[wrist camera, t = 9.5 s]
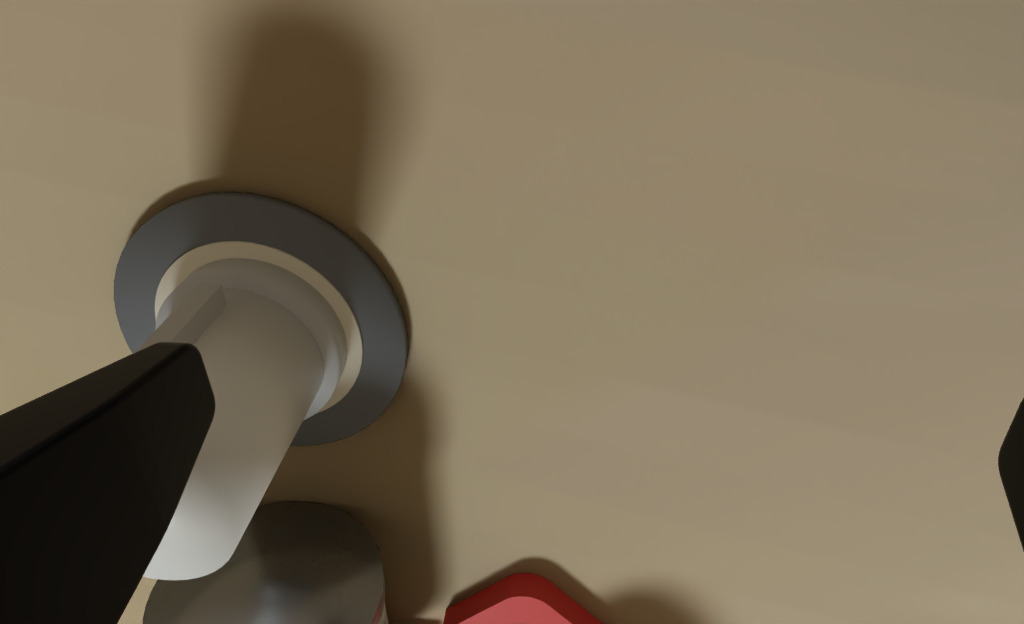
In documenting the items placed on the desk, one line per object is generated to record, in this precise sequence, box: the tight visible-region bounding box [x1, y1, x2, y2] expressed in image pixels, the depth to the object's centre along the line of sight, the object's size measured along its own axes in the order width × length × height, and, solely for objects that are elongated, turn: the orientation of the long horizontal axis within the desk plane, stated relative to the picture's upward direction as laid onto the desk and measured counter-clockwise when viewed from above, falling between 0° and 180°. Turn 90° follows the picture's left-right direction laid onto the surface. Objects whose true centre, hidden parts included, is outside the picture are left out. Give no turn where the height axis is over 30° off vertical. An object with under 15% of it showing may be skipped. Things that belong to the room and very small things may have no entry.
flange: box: [114, 192, 408, 446], centre depth 22 cm, size 9×9×1 cm
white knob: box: [135, 258, 347, 580], centre depth 19 cm, size 6×5×7 cm
